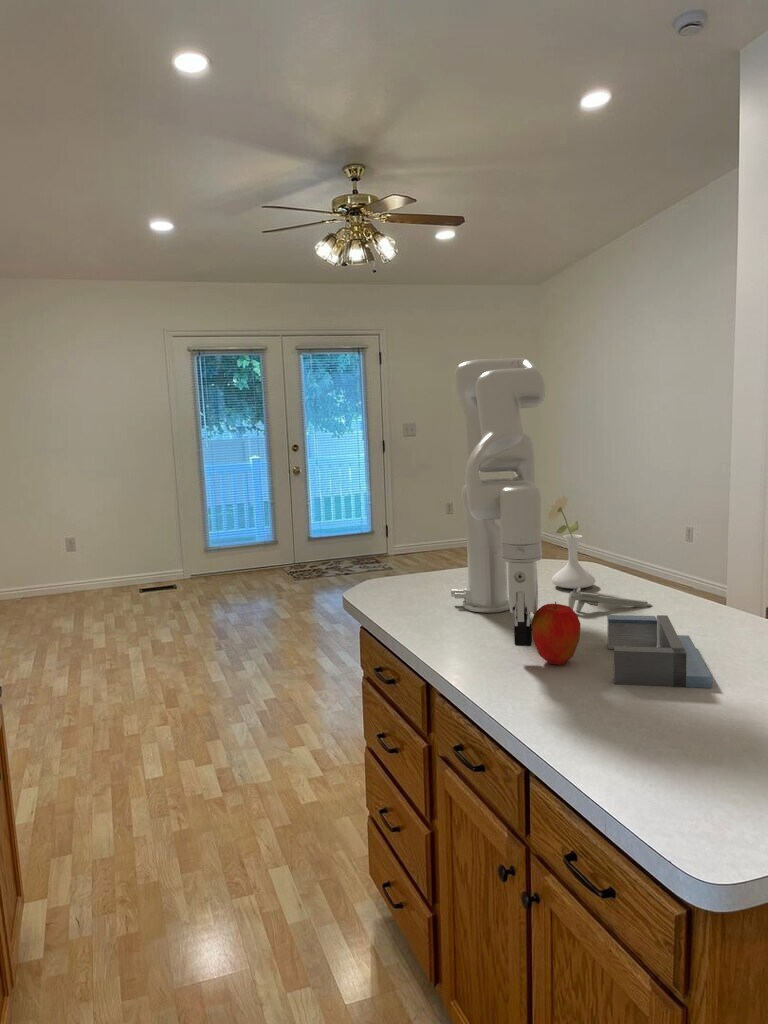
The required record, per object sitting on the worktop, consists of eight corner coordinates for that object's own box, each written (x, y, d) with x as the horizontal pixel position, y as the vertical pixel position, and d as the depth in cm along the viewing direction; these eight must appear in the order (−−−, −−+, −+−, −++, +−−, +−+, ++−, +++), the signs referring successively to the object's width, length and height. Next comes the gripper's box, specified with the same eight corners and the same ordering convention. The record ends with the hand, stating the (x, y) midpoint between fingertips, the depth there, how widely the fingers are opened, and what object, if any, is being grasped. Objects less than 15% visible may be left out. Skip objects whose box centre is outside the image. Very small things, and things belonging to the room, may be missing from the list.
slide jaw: (608, 648, 139) (608, 619, 138) (607, 643, 142) (607, 614, 141) (656, 650, 136) (657, 620, 136) (654, 645, 139) (655, 615, 139)
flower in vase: (576, 579, 196) (575, 490, 192) (604, 588, 185) (604, 494, 182) (537, 586, 190) (536, 494, 187) (564, 595, 180) (563, 498, 177)
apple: (525, 656, 138) (524, 596, 136) (570, 652, 139) (569, 593, 137) (541, 673, 128) (539, 609, 127) (588, 669, 129) (588, 606, 128)
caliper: (570, 614, 164) (570, 588, 164) (568, 613, 165) (568, 587, 165) (652, 607, 167) (652, 581, 166) (650, 606, 168) (650, 580, 167)
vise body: (615, 684, 122) (614, 650, 121) (606, 642, 143) (606, 614, 142) (711, 688, 118) (712, 654, 117) (688, 645, 139) (689, 615, 138)
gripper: (539, 559, 124) (541, 658, 127) (543, 543, 139) (544, 633, 141) (497, 559, 126) (499, 657, 129) (504, 543, 141) (506, 632, 143)
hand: (523, 644), depth 135 cm, fingers closed
